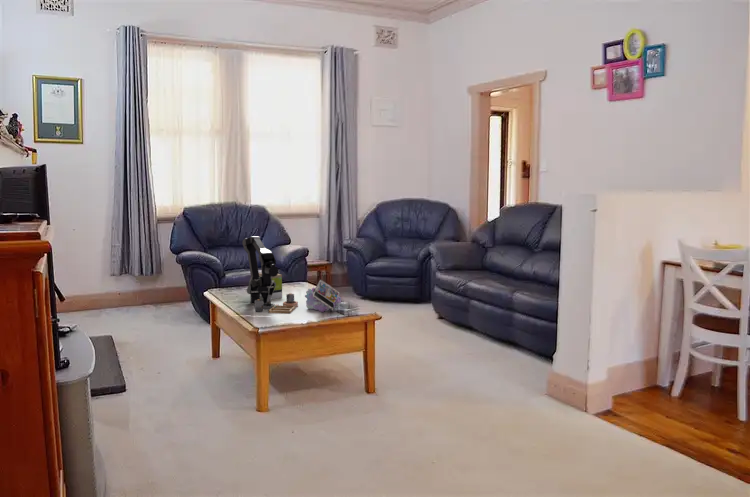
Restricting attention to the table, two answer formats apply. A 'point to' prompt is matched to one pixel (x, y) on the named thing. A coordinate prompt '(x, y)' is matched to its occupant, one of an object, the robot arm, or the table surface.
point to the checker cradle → (270, 307)
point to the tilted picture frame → (322, 297)
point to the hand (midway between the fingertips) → (267, 301)
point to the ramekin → (290, 304)
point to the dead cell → (290, 298)
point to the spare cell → (258, 305)
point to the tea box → (278, 289)
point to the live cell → (268, 301)
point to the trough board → (281, 309)
